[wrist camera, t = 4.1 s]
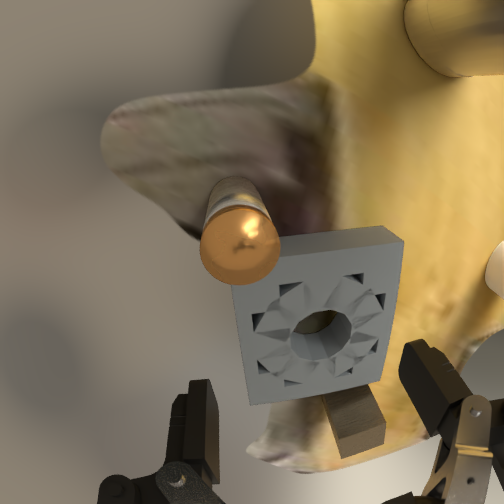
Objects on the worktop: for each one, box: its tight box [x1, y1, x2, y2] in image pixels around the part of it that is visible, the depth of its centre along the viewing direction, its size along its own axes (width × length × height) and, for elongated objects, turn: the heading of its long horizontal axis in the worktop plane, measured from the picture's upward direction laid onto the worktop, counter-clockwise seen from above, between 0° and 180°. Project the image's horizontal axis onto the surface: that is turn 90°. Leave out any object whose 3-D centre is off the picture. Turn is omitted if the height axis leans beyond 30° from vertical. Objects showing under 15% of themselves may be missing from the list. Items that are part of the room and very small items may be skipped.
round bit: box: [200, 176, 280, 285], centre depth 20 cm, size 4×4×10 cm
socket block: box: [231, 226, 404, 405], centre depth 27 cm, size 16×14×4 cm
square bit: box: [322, 384, 386, 459], centre depth 30 cm, size 5×5×9 cm
